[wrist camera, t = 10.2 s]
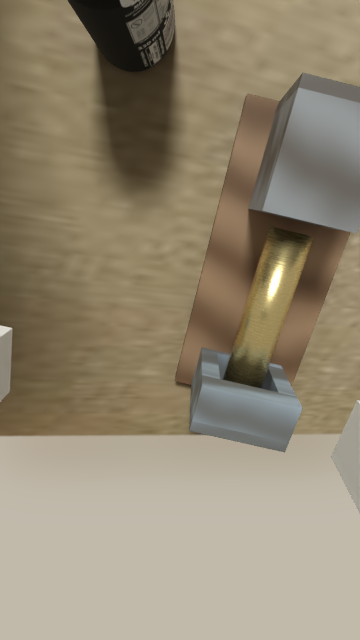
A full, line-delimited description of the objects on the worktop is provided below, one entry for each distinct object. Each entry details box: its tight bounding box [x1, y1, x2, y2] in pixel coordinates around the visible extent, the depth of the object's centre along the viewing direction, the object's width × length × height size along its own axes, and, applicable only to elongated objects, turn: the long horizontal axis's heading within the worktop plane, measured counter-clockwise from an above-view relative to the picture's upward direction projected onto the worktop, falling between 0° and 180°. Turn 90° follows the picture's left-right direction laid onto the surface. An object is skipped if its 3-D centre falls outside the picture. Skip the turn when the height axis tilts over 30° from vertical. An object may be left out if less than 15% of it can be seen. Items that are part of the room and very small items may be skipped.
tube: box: [223, 226, 314, 388], centre depth 31 cm, size 16×4×4 cm, turn 167°
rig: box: [175, 73, 360, 452], centre depth 29 cm, size 27×12×9 cm, turn 167°
